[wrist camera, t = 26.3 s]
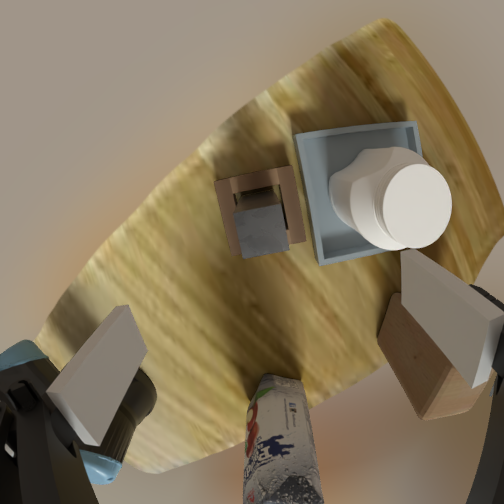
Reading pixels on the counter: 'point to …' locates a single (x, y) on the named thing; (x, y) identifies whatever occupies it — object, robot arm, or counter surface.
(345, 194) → the jar
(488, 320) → the robot arm
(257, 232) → the grey block
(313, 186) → the tray
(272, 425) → the juice carton
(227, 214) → the hollow square tube
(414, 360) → the wooden block
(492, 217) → the counter surface
